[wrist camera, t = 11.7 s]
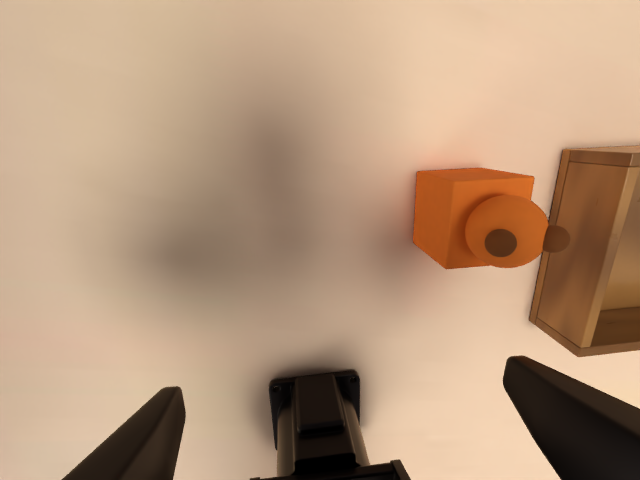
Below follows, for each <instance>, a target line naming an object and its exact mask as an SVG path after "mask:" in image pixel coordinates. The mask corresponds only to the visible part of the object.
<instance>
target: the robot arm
mask: <svg viewBox="0 0 640 480" xmlns="http://www.w3.org/2000/svg"><path fill="white" fill-rule="evenodd" d="M352 377H355V378H353V379H350V378H352ZM503 385H504V388H505V390H506V392H507V394H508V395H509V397H510V399H511V401H512V402H513V404H514V406H515V408H516V409H517V411H518V413H519V415H520V416H521V418H522V420H523V422H524V423H525V425H526V427H527V428H528V430H529V432H530V434H531V435H532V437H533V439H534V440H535V442H536V444H537V445H538V447H539V448H540V450H541V451H542V453H543V454H544V455H545V457H546V458H547V460H548V461H549V463H550V464H551V466H552V467H553V469H554V470H555V471H556V473H557V474H558V476H559V477H560V479H561V480H640V409H639V408H637V407H634V406H632V405H630V404H628V403H626V402H624V401H621V400H619V399H617V398H615V397H613V396H611V395H608V394H606V393H604V392H602V391H600V390H598V389H595V388H593V387H591V386H589V385H587V384H584V383H582V382H580V381H578V380H576V379H574V378H571V377H569V376H567V375H565V374H563V373H561V372H558V371H556V370H554V369H552V368H550V367H548V366H545V365H543V364H541V363H539V362H537V361H534V360H532V359H530V358H528V357H526V356H511V357H509V358H508V359H507V362H506V366H505V371H504V376H503ZM275 386H278V387H277V388H274V387H275ZM269 395H270V404H271V413H272V422H273V431H274V440H275V448H276V450H277V477H273V478H265V479H260V477H257V478H250V480H411V479H410V477H409V475H408V474H407V472H406V470H405V468H404V466H403V464H402V463H401V461H400V460H392V461H390V463H383V464H375V465H370V463H369V459H368V456H367V452H366V448H365V444H364V441H363V437H362V433H361V430H360V379H359V375H358V373H357V372H356V371H344V372H335V373H326V374H318V375H309V376H300V377H291V378H282V379H275V380H272V381H271V382H270V383H269ZM185 417H186V412H185V406H184V400H183V395H182V390H181V388H180V387H178V386H176V387H165V388H163V389H161V390H160V391H159V392H158V393H157V394H156V395H154V396H153V397H152V398H151V399H150V400H149V401H148V402H147V403H146V404H145V405H143V406H142V407H141V408H140V409H139V410H138V411H137V412H136V413H135V414H134V415H132V416H131V417H130V418H129V419H128V420H127V421H126V422H125V423H124V424H123V425H121V426H120V427H119V428H118V429H117V430H116V431H115V432H114V433H113V434H111V435H110V436H109V437H108V438H107V439H106V440H105V441H104V442H103V443H102V444H100V445H99V446H98V447H97V448H96V449H95V450H94V451H93V452H92V453H91V454H89V455H88V456H87V457H86V458H85V459H84V460H83V461H82V462H81V463H80V464H78V465H77V466H76V467H75V468H74V469H73V470H72V471H71V472H70V473H69V474H67V475H66V476H65V477H64V478H63V479H62V480H173V476H174V472H175V467H176V462H177V457H178V452H179V448H180V443H181V438H182V433H183V428H184V424H185Z"/></svg>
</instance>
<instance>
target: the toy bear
mask: <svg viewBox="0 0 640 480" xmlns="http://www.w3.org/2000/svg"><path fill="white" fill-rule="evenodd" d="M533 184H534V177H533V176H528V175H522V174H516V173H510V172H504V171H498V170H492V169H485V168H469V169H451V170H432V171H418V172H417V184H416V201H415V218H414V235H413V243H414V244H415V245H417V246H418V247H419V248H420V249H422V250H423V251H424V252H425V253H426V254H428V255H429V256H430V257H431V258H433V259H434V260H435V261H436V262H437V263H439V264H440V265H441V266H442V267H444V268H445V269H454V268H466V267H478V266H489V265H492V266H495V267H501V268H513V267H518V266H522V265H525V264H527V263H529V262H531V261H532V260H534V259H535V258H537V257H538V256H539V255H540V254H541V253H542V251H546V252H549V253H557V252H560V251H563V250H564V249H566V248H567V246H568V245H569V243H570V235H569V233H568V231H567V230H566V229H564V228H563V227H561V226H557V225H549V223H548V220H547V217H546V215H545V214H544V212H543V211H542V210H541V209H540V207H538V206H537V205H536V204H535V203H534V202H532V201H531V195H532V190H533Z"/></svg>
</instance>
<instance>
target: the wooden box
mask: <svg viewBox="0 0 640 480" xmlns="http://www.w3.org/2000/svg"><path fill="white" fill-rule="evenodd" d="M549 225H557V226H561V227H563V228H564V229H566V230H567V231H568V233H569V235H570V243H569V245H568V246H567V248H566V249H564V250H563V251H560V252H557V253H549V252H546V251H543V254H542V259H541V264H540V269H539V274H538V279H537V284H536V289H535V294H534V299H533V304H532V309H531V314H530V319H529V321H530V322H532V323H533V324H534V325H536V326H537V327H538V328H540V329H541V330H542V331H544V332H545V333H546V334H548V335H549V336H550V337H552V338H553V339H554V340H556V341H557V342H558V343H560V344H561V345H562V346H564V347H565V348H566V349H568V350H569V351H570V352H572V353H573V354H574V355H576V356H577V357H585V356H593V355H602V354H610V353H619V352H627V351H636V350H640V146H620V147H599V148H578V149H564V150H563V154H562V159H561V164H560V169H559V174H558V179H557V184H556V189H555V194H554V199H553V204H552V209H551V214H550V219H549Z"/></svg>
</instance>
